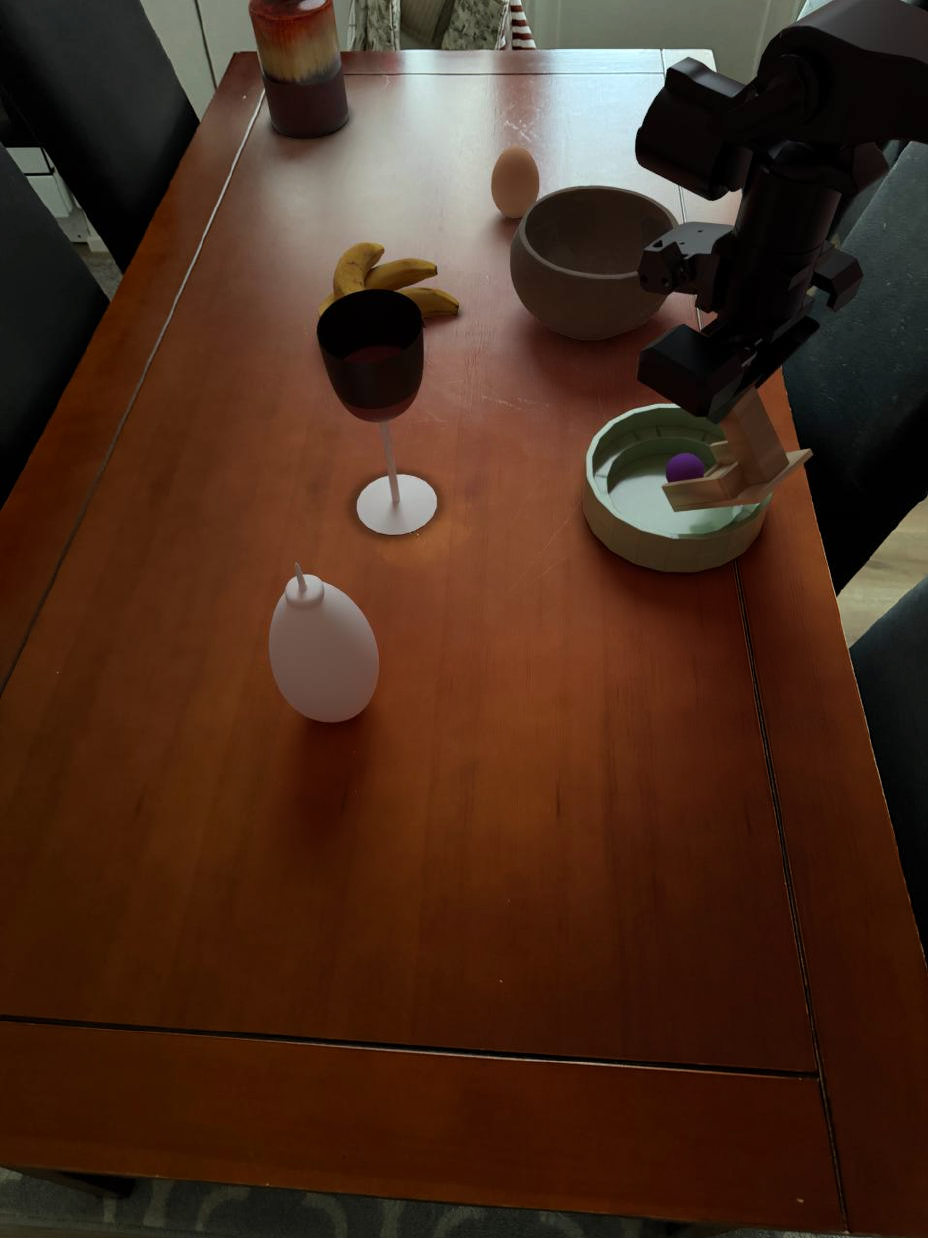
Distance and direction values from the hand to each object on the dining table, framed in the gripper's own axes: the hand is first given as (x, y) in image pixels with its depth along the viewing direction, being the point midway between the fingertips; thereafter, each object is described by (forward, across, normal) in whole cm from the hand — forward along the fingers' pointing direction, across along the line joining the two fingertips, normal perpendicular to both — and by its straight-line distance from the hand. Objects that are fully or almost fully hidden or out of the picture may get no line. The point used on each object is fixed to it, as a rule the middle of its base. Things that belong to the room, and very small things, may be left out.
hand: (725, 410), depth 70 cm
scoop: (+6, 0, +3) cm, 7 cm away
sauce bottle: (+14, +35, -8) cm, 38 cm away
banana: (+15, 0, -41) cm, 44 cm away
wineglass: (+14, +17, -21) cm, 31 cm away
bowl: (+14, -16, -27) cm, 34 cm away
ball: (+7, +1, -1) cm, 7 cm away
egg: (+15, -24, -46) cm, 54 cm away
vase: (+16, -22, -83) cm, 88 cm away
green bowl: (+14, 0, -2) cm, 14 cm away
